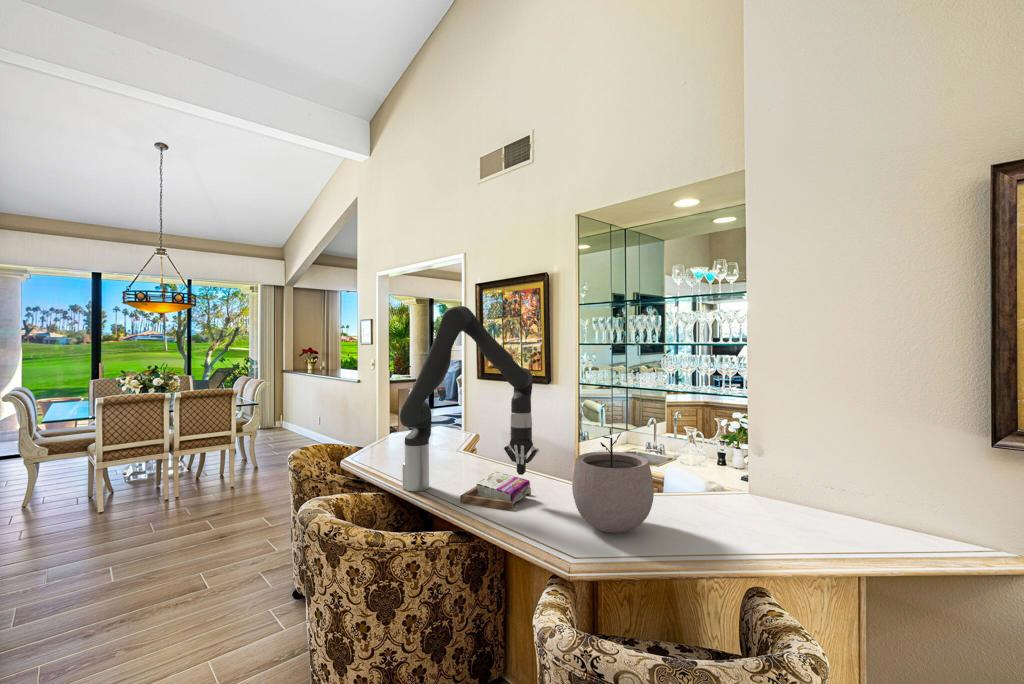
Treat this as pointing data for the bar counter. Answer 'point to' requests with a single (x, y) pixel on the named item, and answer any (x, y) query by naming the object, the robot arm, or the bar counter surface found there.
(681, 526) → the bar counter surface
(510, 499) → the candy bar box
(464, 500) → the keeper frame
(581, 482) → the plant pot
